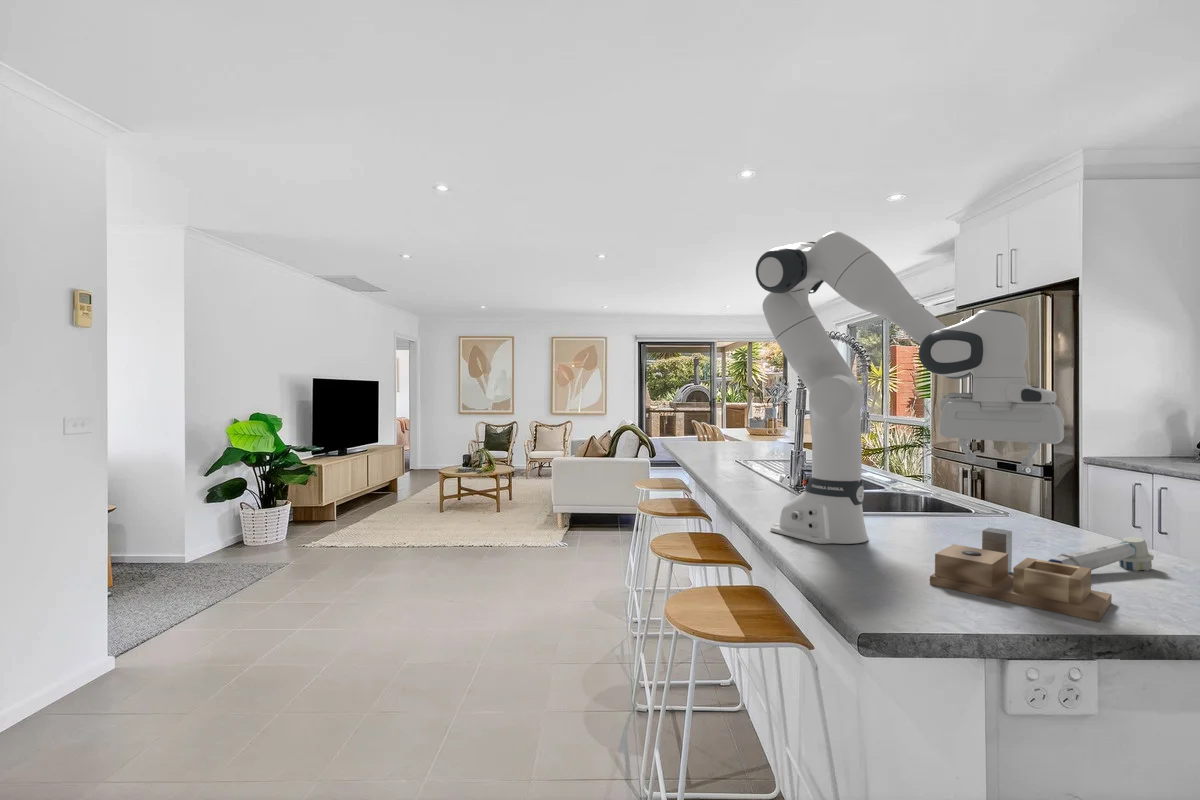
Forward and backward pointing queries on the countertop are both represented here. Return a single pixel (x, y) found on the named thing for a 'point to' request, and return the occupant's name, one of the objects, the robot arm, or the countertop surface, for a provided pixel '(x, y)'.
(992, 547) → the grey rectangular block
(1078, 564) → the white handle
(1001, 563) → the holder
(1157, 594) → the countertop surface
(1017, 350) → the robot arm
